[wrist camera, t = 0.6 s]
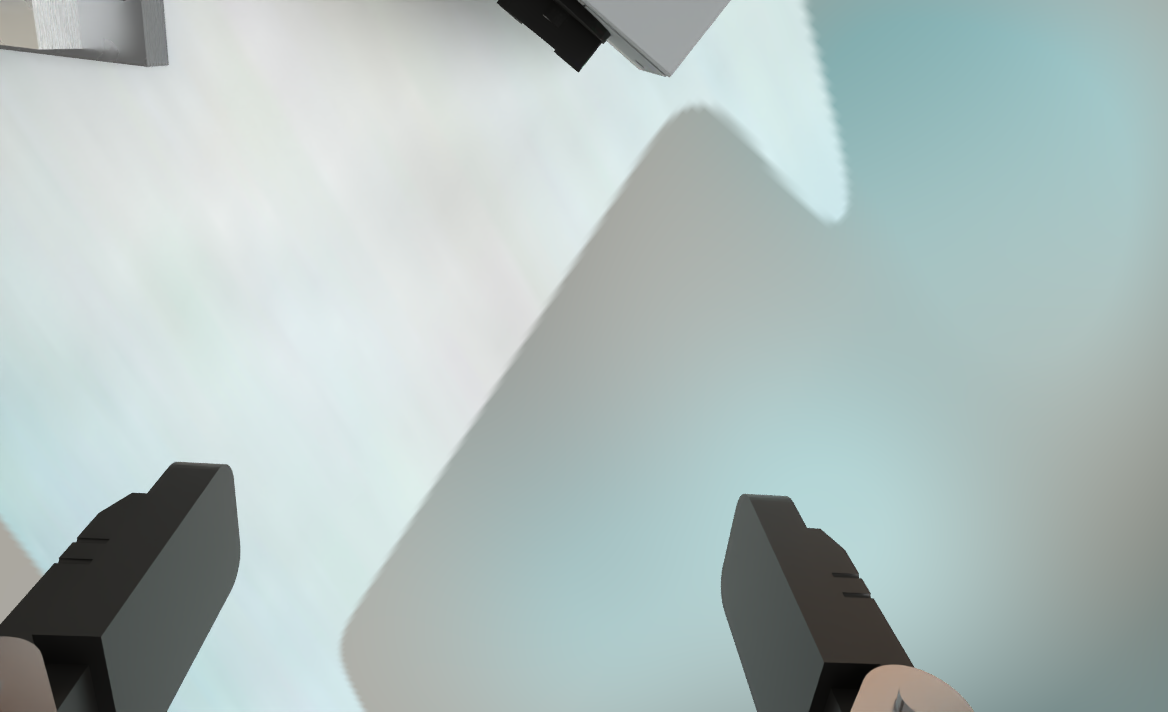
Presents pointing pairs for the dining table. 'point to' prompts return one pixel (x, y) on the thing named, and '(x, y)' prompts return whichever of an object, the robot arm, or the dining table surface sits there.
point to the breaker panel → (87, 29)
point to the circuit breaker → (619, 28)
